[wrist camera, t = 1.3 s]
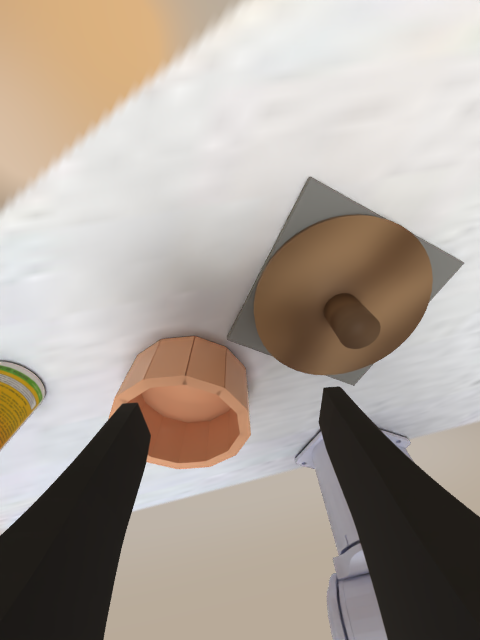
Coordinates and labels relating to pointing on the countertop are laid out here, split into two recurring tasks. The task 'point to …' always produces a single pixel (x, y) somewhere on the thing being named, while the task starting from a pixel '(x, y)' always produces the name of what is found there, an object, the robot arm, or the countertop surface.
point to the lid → (342, 294)
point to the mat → (307, 211)
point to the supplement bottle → (17, 398)
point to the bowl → (189, 401)
